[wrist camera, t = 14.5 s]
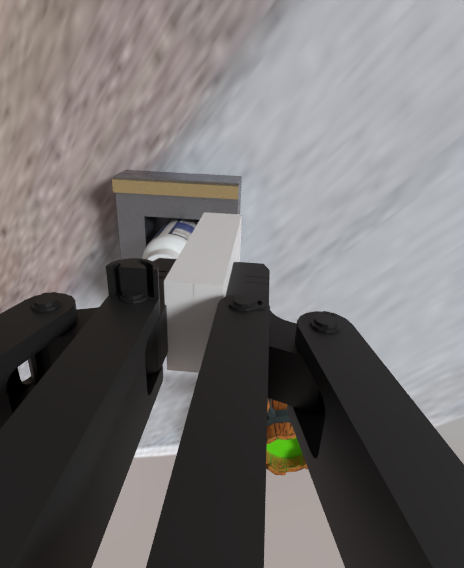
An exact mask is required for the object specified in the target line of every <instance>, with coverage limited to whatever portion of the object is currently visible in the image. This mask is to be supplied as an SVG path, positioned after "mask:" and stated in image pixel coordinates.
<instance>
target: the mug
mask: <svg viewBox="0 0 464 568" xmlns="http://www.w3.org/2000/svg"><path fill="white" fill-rule="evenodd" d="M303 468H305V469H308V467H307V464H306V462H305V459H304V456H303V454H302V451H301V448H300V446H299V443H298V440H297V438H296V435H295V432H294V430H293V427H292V424H291V422H290V419H289V416H288V413H287V404H284V403H281V402H278V401H275V400H272V399H269V398H268V405H267V448H266V469H268V470H269V471H271V472H272V473H274V474H275V475H285V474H286V472H295V471H299V470H302V469H303Z"/></svg>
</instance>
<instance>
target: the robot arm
mask: <svg viewBox="0 0 464 568" xmlns="http://www.w3.org/2000/svg"><path fill="white" fill-rule="evenodd" d="M241 223H242V215H240V214H223V213H207V212H204V214H203V215H202V217H201V219H200V220H199V222H198V224H197V226H196V227H195V229H194V231H193V232H192V234H191V236H190V237H189V239H188V241H187V243H186V244H185V246H184V248H183V249H182V251H181V253H180V254H179V256H178V258H177V259H169V258H158V259H156V260H154V261H151V260H148V259H141V258H128V259H121V260H117V261H114V262H111V263H110V264H108V265H107V266H106V271H107V281H108V290H109V296H108V297H107V298H106V300H105V301H104V302H103V303H102V305H101V306H100V307H98V308H89V309H78V310H76V303H75V300H74V298H73V297H72V296H69V295H67V294H61V293H56V292H51V293H43V294H41V295H37V296H34V297H31V298H29V299H27V300H24V301H23V302H21V303H19V304H17V305H16V306H14V307H12V308H10V309H8V310H7V311H5V312H3V313H1V314H0V568H91V567H92V565H93V562H94V559H95V557H96V554H97V551H98V549H99V546H100V544H101V541H102V538H103V535H104V533H105V530H106V528H107V525H108V522H109V520H110V517H111V515H112V512H113V510H114V507H115V504H116V502H117V499H118V497H119V494H120V491H121V489H122V486H123V483H124V481H125V478H126V476H127V473H128V470H129V468H130V465H131V463H132V460H133V457H134V455H135V452H136V449H137V447H138V444H139V442H140V439H141V436H142V434H143V431H144V429H145V426H146V423H147V421H148V418H149V415H150V413H151V410H152V408H153V405H154V402H155V400H156V397H157V395H158V392H159V389H160V387H161V384H162V381H163V362H164V360H165V357H166V355H167V370H177V371H188V372H199V375H198V379H197V382H196V386H195V390H194V393H193V397H192V401H191V404H190V408H189V412H188V415H187V419H186V423H185V426H184V430H183V434H182V437H181V441H180V445H179V448H178V452H177V456H176V459H175V463H174V467H173V470H172V475H171V478H170V482H169V485H168V489H167V493H166V496H165V500H164V504H163V507H162V511H161V515H160V519H159V522H158V526H157V529H156V533H155V537H154V540H153V544H152V548H151V551H150V555H149V559H148V562H147V566H146V568H264V533H265V491H266V489H265V488H266V448H267V405H268V398H269V399H272V400H275V401H278V402H281V403H284V404H287V413H288V416H289V419H290V422H291V424H292V427H293V430H294V432H295V435H296V438H297V440H298V443H299V446H300V448H301V451H302V454H303V456H304V459H305V462H306V464H307V467H308V470H309V472H310V475H311V478H312V480H313V483H314V486H315V488H316V491H317V494H318V496H319V499H320V502H321V504H322V507H323V510H324V512H325V515H326V518H327V520H328V523H329V526H330V528H331V531H332V533H333V536H334V539H335V541H336V544H337V547H338V550H339V552H340V555H341V558H342V560H343V563H344V566H345V568H464V464H463V463H462V462H461V461H460V459H459V458H458V457H457V456H456V454H455V453H454V452H453V451H452V449H451V448H450V447H449V446H448V444H447V443H446V442H445V440H444V439H443V438H442V437H441V435H440V434H439V433H438V432H437V430H436V429H435V428H434V427H433V425H432V424H431V423H430V422H429V420H428V419H427V418H426V417H425V415H424V414H423V413H422V411H421V410H420V409H419V408H418V406H417V405H416V404H415V403H414V401H413V400H412V399H411V398H410V396H409V395H408V394H407V393H406V391H405V390H404V389H403V388H402V386H401V385H400V384H399V382H398V381H397V380H396V379H395V377H394V376H393V375H392V374H391V372H390V371H389V370H388V369H387V367H386V366H385V365H384V364H383V362H382V361H381V360H380V359H379V357H378V356H377V355H376V354H375V352H374V351H373V350H372V348H371V347H370V346H369V345H368V343H367V342H366V341H365V340H364V338H363V337H362V336H361V335H360V333H359V332H358V331H357V330H356V328H355V327H354V326H353V325H352V323H350V322H349V321H348V320H347V319H345V318H343V317H341V316H339V315H337V314H335V313H330V312H326V311H323V312H317V311H316V312H309V313H306V314H304V315H302V316H300V317H299V319H298V320H297V324H296V323H292V322H289V321H286V320H283V319H281V318H279V317H277V316H275V315H274V314H273V313H272V312H271V311H270V306H269V269H268V268H267V267H266V266H265V265H264V264H258V263H244V262H240V244H241ZM27 360H28V363H29V367H30V372H31V377H29V378H28V379H27V380H25V381H23V382H22V381H21V380H20V376H19V372H18V368H17V367H18V366H20V365H21V364H22V363H24V362H25V361H27Z"/></svg>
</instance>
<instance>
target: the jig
mask: <svg viewBox="0 0 464 568" xmlns="http://www.w3.org/2000/svg"><path fill="white" fill-rule="evenodd" d="M241 177H242V176H225V175H207V174H188V173H170V172H151V171H133V170H125V171H123V172H121V173H119V174H117V175H115V176H114V179H112V187H113V192H115V195H116V206H117V218H118V230H119V241H120V253H121V259H128V258H141V259H142V258H143V253H144V250H145V248H146V247H147V245H148V244H149V242H150V241H151V240H152V239H153V238H154V236H155V235H156V234H157V233H158V232H159V230H160V229H161V228H162V227H163V226H164V225H165V224H166V223H167V222H168V221H169V220H171V219H173V218H181V219H194V220H196V221H197V222H199V220H200V219H201V217H202V215H203V214H204V212H207V213H223V214H240V199H241Z"/></svg>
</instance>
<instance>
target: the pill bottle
mask: <svg viewBox="0 0 464 568" xmlns="http://www.w3.org/2000/svg"><path fill="white" fill-rule="evenodd" d="M197 224H198V222H197V221H196V220H194V219H181V218H173V219H171V220H169V221H168V222H167V223H166V224H165V225H164V226H163V227H162V228H161V229H160V230H159V232H158V233H157V234H156V235H155V236H154V238H153V239H152V240H151V241H150V242H149V244H148V245H147V247H146V248H145V250H144V253H143V258H142V259H148V260H151V261H154V260H156V259H158V258H169V259H177V258H178V256H179V254H180V253H181V251H182V249H183V248H184V246H185V244H186V243H187V241H188V239H189V237H190V236H191V234H192V232H193V231H194V229H195V227H196V226H197Z"/></svg>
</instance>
